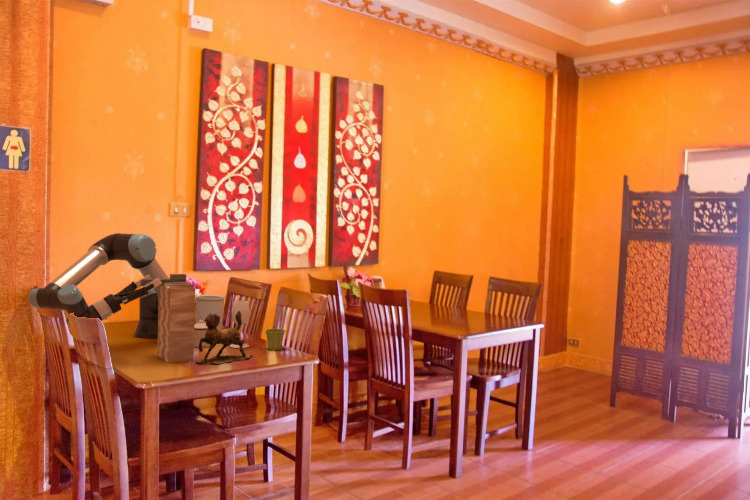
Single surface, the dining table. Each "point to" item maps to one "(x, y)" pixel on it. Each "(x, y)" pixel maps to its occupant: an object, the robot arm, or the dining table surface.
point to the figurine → (222, 341)
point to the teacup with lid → (200, 334)
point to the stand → (176, 322)
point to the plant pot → (275, 338)
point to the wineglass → (244, 309)
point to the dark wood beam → (172, 279)
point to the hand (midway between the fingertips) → (155, 278)
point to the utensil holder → (209, 307)
